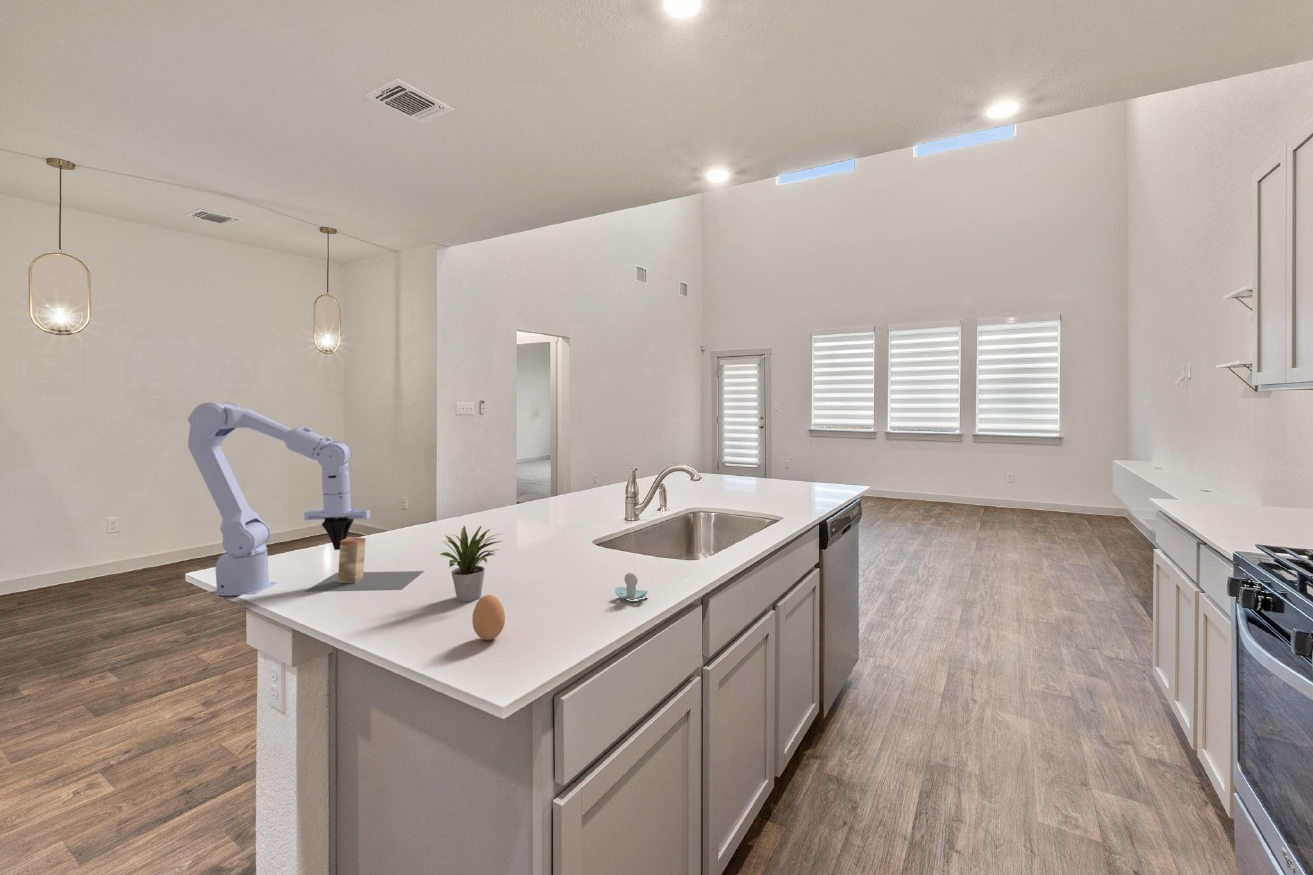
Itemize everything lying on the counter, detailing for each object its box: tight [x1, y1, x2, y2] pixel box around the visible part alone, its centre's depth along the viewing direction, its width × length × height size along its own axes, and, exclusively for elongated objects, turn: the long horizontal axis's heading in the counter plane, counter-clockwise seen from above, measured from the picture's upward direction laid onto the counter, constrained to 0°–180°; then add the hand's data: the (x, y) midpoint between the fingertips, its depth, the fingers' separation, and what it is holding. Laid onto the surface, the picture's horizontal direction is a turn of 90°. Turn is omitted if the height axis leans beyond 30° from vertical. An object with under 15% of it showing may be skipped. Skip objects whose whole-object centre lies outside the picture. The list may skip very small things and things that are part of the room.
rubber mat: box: [303, 570, 425, 593], centre depth 136 cm, size 22×14×1 cm, turn 92°
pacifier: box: [614, 572, 648, 600], centre depth 124 cm, size 7×6×6 cm
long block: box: [337, 536, 366, 584], centre depth 136 cm, size 4×4×10 cm
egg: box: [471, 594, 506, 641], centre depth 103 cm, size 6×6×8 cm
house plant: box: [439, 525, 503, 603], centre depth 124 cm, size 14×14×16 cm
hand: (339, 548), depth 135 cm, fingers closed
